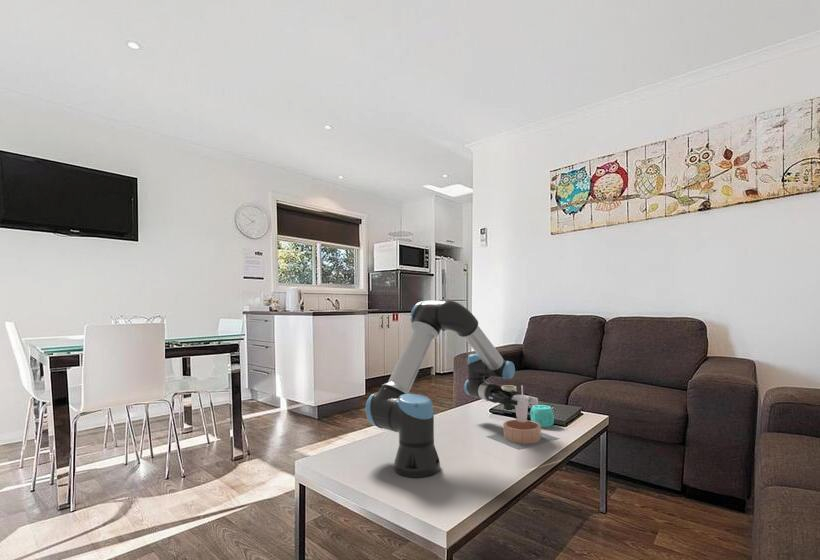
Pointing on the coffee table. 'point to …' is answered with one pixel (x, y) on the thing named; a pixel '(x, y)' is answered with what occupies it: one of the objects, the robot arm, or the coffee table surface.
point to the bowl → (522, 431)
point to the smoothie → (522, 412)
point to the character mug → (509, 388)
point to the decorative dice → (542, 415)
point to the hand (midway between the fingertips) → (530, 403)
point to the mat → (519, 446)
